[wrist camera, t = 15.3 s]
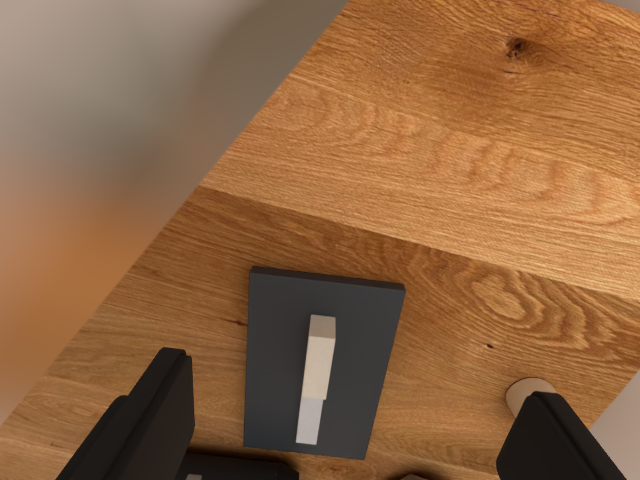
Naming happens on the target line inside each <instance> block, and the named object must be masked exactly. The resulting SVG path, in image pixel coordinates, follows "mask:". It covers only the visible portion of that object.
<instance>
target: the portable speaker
mask: <svg viewBox="0 0 640 480" xmlns="http://www.w3.org/2000/svg"><path fill="white" fill-rule="evenodd" d="M174 480H299V472H297V471H295V470H293V469H292V468H290V467H288V466H287V465H285V464H283V463H277V462H267V461H258V460H249V459H240V458H231V457H222V456H213V455H204V454H195V453H185V455H184V457H183V459H182V462H181V464H180V466H179V469H178V471H177V473H176V476H175V478H174Z"/></svg>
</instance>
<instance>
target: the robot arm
mask: <svg viewBox="0 0 640 480" xmlns="http://www.w3.org/2000/svg"><path fill="white" fill-rule="evenodd" d="M194 426H195V419H194V397H193V375H192V358H191V356H187V355H186V351H185V350H183V349H175V348H166V347H163V348H161V350H160V351H159V352H158V354H157V355H156V356H155V358H154V359H153V361H152V362H151V364H150V365H149V366H148V368H147V369H146V371H145V372H144V373H143V375H142V376H141V378H140V379H139V381H138V382H137V383H136V385H135V386H134V388H133V389H132V391H131V392H130V393H129V395H128V396H126V395H122V396H119V397H118V398H116V399H115V400H114V401H113V403H112V404H111V405H110V406H109V408H108V409H107V410H106V412H105V413H104V414H103V416H102V417H101V418H100V420H99V421H98V423H97V424H96V425H95V427H94V428H93V429H92V431H91V432H90V433H89V435H88V436H87V437H86V439H85V440H84V442H83V443H82V444H81V446H80V447H79V448H78V450H77V451H76V452H75V454H74V455H73V456H72V458H71V459H70V461H69V462H68V463H67V465H66V466H65V467H64V469H63V470H62V471H61V473H60V474H59V475H58V477H57V478H56V479H55V480H174V478H175V476H176V473H177V471H178V469H179V466H180V464H181V462H182V459H183V457H184V455H185V452H186V450H187V448H188V445H189V443H190V440H191V438H192V435H193V431H194ZM496 467H497V472H498V475H499V477H500V479H501V480H627V479H626V478H625V477H624V476H623V474H622V473H621V472H620V470H619V469H618V468H617V466H616V465H615V464H614V462H613V461H612V460H611V459H610V457H609V456H608V455H607V453H606V452H605V451H604V450H603V448H602V447H601V446H600V444H599V443H598V442H597V441H596V439H595V438H594V437H593V435H592V434H591V433H590V431H589V430H588V429H587V428H586V426H585V425H584V424H583V422H582V421H581V420H580V418H579V417H578V416H577V415H576V413H575V412H574V411H573V409H572V408H571V407H570V406H569V404H568V403H567V402H566V400H565V399H564V398H563V397H562V396H561V395H560V394H558V393H551V392H542V391H534V392H532V394H531V395H530V396H527V397H526V398H525V400H524V402H523V404H522V406H521V409H520V411H519V413H518V415H517V417H516V419H515V421H514V423H513V425H512V428H511V430H510V432H509V434H508V436H507V438H506V440H505V442H504V444H503V447H502V449H501V451H500V453H499V455H498V457H497V460H496Z"/></svg>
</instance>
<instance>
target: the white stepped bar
mask: <svg viewBox="0 0 640 480" xmlns="http://www.w3.org/2000/svg"><path fill="white" fill-rule="evenodd" d="M334 346H335V317H329V316H320V315H311V320H310V328H309V336H308V345H307V353H306V361H305V369H304V378H303V386H302V394H301V403H300V411H299V419H298V427H297V436H296V442H297V443H305V444H314V445H316V443H317V436H318V430H319V423H320V417H321V411H322V404H323V399H324V400H326V396H327V389H328V383H329V377H330V371H331V364H332V358H333V352H334Z"/></svg>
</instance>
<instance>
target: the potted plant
mask: <svg viewBox="0 0 640 480" xmlns="http://www.w3.org/2000/svg"><path fill="white" fill-rule="evenodd" d="M400 480H427V479H424V478H421V477H418V476H416V475H413V474H411V473H410V474H409V475H407V476H405V477H404V478H402V479H400Z"/></svg>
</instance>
